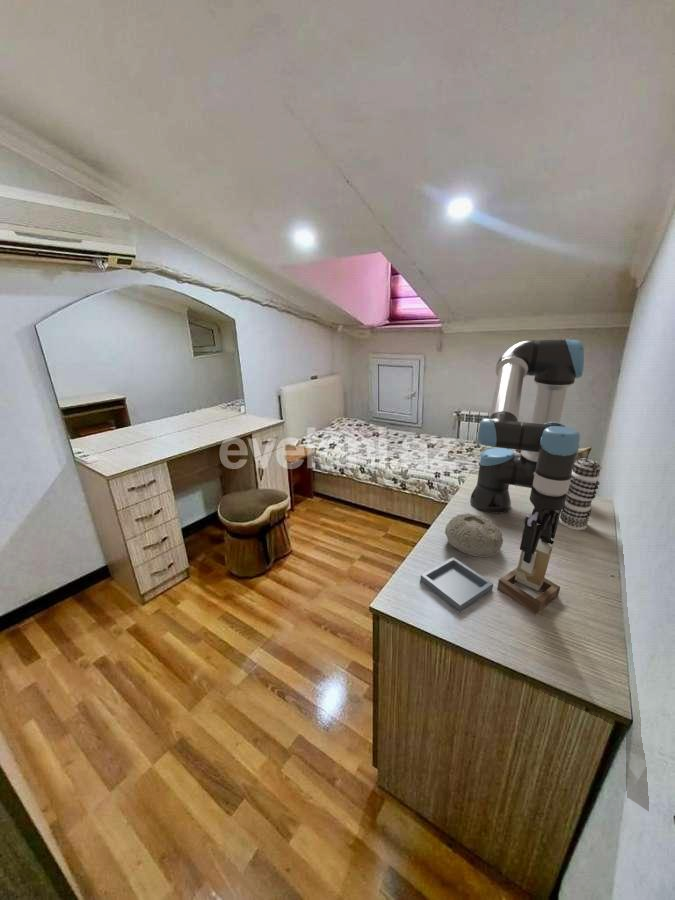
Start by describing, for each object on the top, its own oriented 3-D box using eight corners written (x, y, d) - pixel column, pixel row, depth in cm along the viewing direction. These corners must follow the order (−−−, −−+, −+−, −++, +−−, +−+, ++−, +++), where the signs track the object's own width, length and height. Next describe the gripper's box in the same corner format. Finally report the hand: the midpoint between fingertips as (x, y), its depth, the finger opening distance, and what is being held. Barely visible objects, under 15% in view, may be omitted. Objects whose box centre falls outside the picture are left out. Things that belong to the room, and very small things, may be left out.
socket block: (519, 574, 104) (521, 564, 103) (557, 597, 96) (560, 586, 94) (497, 589, 99) (498, 579, 97) (535, 615, 90) (538, 604, 89)
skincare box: (514, 580, 97) (521, 543, 92) (519, 572, 100) (526, 536, 95) (539, 591, 92) (548, 554, 88) (544, 583, 95) (553, 545, 91)
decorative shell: (505, 542, 119) (509, 516, 115) (494, 572, 105) (498, 544, 102) (453, 526, 129) (455, 502, 125) (436, 552, 115) (438, 526, 111)
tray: (452, 563, 109) (453, 557, 108) (492, 590, 98) (493, 583, 97) (420, 581, 102) (420, 574, 101) (459, 612, 91) (460, 605, 90)
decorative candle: (552, 516, 133) (566, 455, 124) (577, 516, 133) (593, 455, 124) (566, 530, 124) (582, 466, 116) (593, 530, 124) (611, 465, 115)
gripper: (553, 474, 93) (537, 547, 102) (513, 494, 84) (499, 571, 93) (583, 485, 87) (564, 560, 96) (544, 507, 78) (527, 588, 87)
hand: (532, 566), depth 94 cm, fingers closed on skincare box, 5 cm apart
